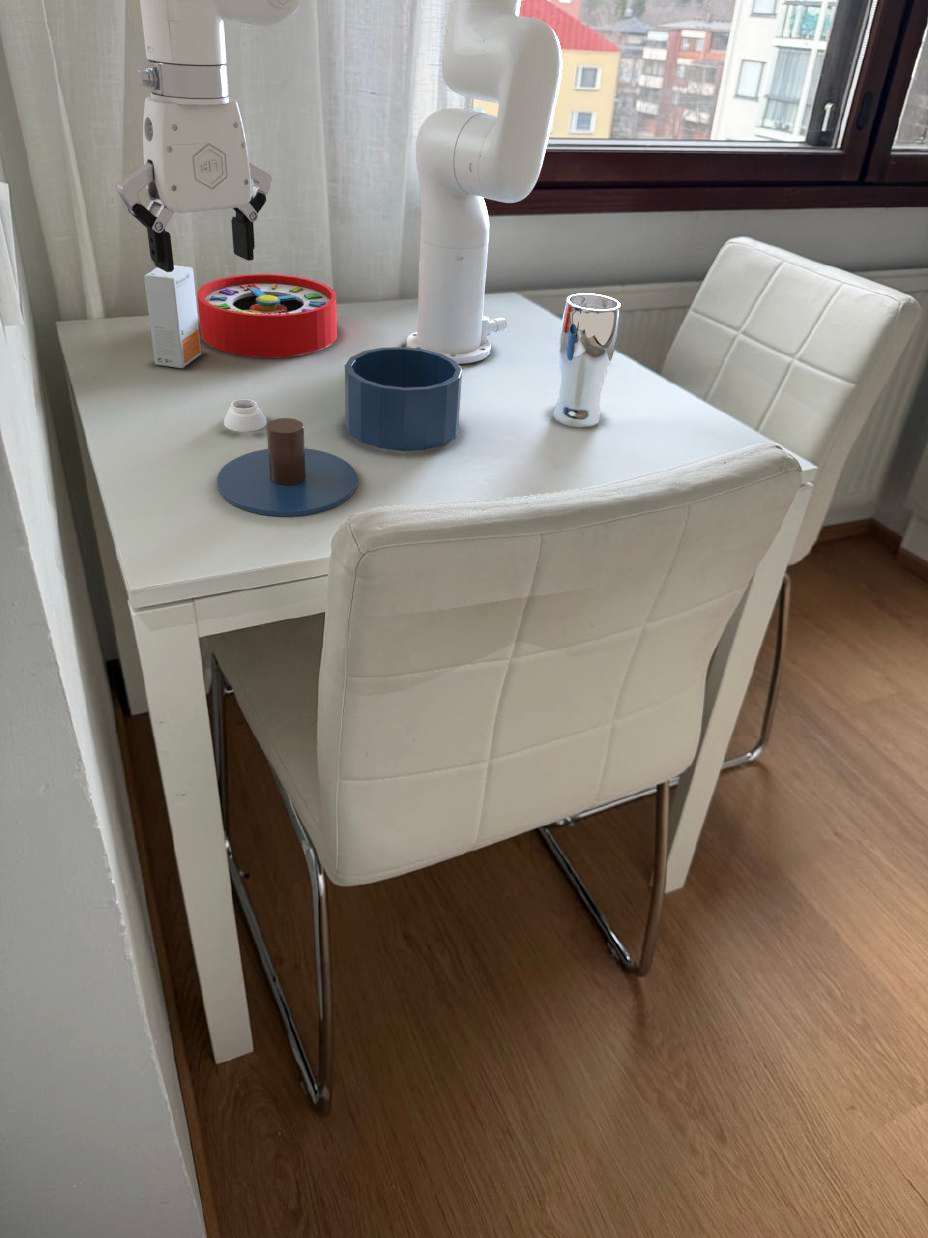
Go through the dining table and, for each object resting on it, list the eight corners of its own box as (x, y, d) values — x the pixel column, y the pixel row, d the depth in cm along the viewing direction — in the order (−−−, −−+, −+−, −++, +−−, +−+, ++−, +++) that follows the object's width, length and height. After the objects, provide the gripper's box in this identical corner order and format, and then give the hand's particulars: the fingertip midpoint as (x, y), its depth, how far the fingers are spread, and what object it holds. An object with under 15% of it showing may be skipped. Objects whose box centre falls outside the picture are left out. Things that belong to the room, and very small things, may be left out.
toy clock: (226, 323, 122) (177, 281, 136) (230, 365, 126) (182, 320, 139) (360, 306, 132) (302, 268, 145) (360, 346, 135) (303, 305, 148)
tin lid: (313, 446, 107) (311, 387, 103) (383, 498, 98) (384, 437, 94) (194, 475, 100) (187, 413, 96) (258, 535, 91) (253, 470, 86)
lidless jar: (275, 426, 111) (246, 414, 113) (274, 403, 109) (244, 392, 112) (244, 439, 108) (215, 426, 110) (242, 416, 106) (213, 403, 108)
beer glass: (607, 413, 121) (627, 298, 112) (596, 433, 116) (615, 314, 107) (557, 403, 123) (572, 289, 114) (543, 422, 117) (558, 304, 109)
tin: (415, 400, 120) (417, 340, 116) (479, 439, 112) (484, 376, 107) (325, 421, 113) (324, 358, 109) (386, 464, 105) (387, 398, 100)
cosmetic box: (183, 369, 124) (173, 278, 117) (154, 365, 124) (141, 274, 117) (203, 354, 129) (193, 266, 122) (174, 350, 129) (163, 262, 122)
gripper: (123, 89, 83) (147, 282, 93) (284, 86, 93) (291, 261, 103) (86, 78, 87) (113, 264, 97) (245, 77, 97) (255, 245, 107)
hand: (205, 262), depth 100 cm, fingers open, 9 cm apart
